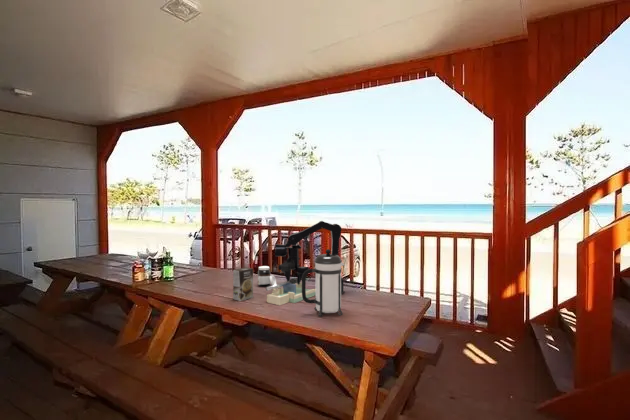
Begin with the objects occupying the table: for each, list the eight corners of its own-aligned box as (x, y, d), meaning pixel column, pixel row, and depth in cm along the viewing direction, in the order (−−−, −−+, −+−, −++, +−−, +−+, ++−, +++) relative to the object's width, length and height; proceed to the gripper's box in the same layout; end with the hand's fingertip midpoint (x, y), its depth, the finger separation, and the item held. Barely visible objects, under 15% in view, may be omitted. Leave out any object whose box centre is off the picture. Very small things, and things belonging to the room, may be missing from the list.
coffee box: (240, 301, 173) (240, 271, 173) (232, 299, 177) (232, 269, 177) (253, 297, 180) (253, 268, 180) (245, 295, 184) (245, 267, 184)
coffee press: (323, 305, 166) (323, 246, 165) (350, 311, 156) (350, 248, 155) (300, 314, 152) (300, 250, 152) (328, 322, 142) (328, 253, 142)
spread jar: (257, 284, 211) (256, 266, 211) (274, 282, 214) (274, 265, 214) (259, 288, 200) (259, 269, 199) (277, 287, 203) (277, 268, 203)
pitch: (317, 294, 186) (317, 285, 186) (284, 306, 164) (284, 296, 164) (295, 290, 195) (295, 281, 195) (262, 301, 173) (262, 291, 173)
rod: (305, 289, 186) (305, 279, 186) (275, 299, 167) (275, 288, 167) (294, 287, 191) (294, 277, 191) (264, 297, 172) (264, 285, 172)
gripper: (271, 256, 187) (271, 283, 187) (296, 259, 176) (296, 288, 176) (284, 254, 196) (284, 280, 196) (309, 257, 185) (309, 284, 185)
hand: (293, 283), depth 188 cm, fingers open, 7 cm apart
